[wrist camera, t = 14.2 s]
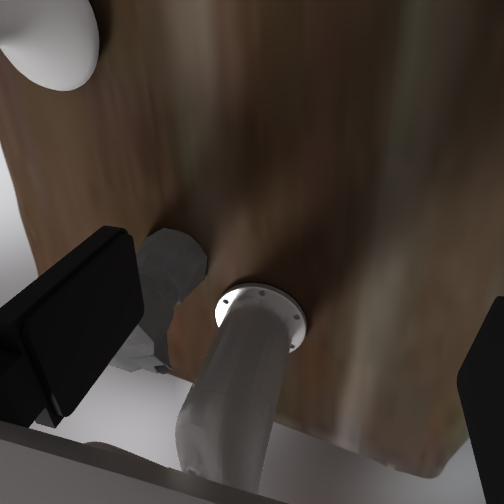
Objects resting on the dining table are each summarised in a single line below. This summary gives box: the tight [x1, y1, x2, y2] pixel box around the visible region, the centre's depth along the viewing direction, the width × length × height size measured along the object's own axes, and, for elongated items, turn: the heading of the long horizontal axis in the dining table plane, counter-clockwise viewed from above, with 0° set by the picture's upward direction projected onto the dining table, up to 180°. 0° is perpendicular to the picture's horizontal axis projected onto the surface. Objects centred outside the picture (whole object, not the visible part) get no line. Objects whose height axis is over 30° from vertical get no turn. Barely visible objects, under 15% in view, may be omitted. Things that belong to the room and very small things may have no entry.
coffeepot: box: [109, 228, 208, 374], centre depth 42 cm, size 15×9×18 cm, turn 58°
